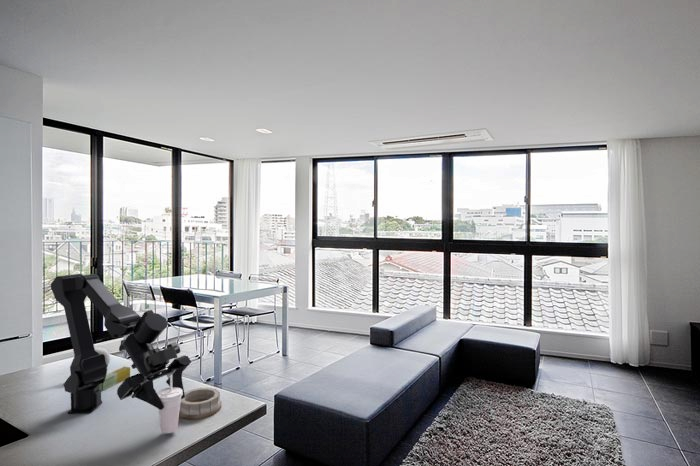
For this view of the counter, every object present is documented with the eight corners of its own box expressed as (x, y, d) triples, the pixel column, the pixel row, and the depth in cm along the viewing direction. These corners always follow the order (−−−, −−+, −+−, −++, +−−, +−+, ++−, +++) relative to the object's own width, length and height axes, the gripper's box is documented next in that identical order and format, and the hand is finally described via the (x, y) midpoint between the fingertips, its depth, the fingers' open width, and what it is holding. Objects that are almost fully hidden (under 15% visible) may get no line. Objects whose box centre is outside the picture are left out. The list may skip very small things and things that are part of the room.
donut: (79, 381, 134) (78, 352, 134) (75, 379, 136) (75, 350, 136) (111, 373, 142) (111, 345, 141) (108, 370, 144) (107, 343, 144)
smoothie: (188, 427, 103) (188, 374, 102) (165, 439, 97) (164, 382, 97) (173, 420, 106) (173, 368, 106) (150, 431, 101) (149, 376, 100)
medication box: (101, 392, 126) (101, 380, 126) (94, 391, 127) (94, 379, 127) (130, 378, 138) (130, 366, 138) (124, 377, 139) (124, 365, 139)
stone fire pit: (171, 420, 108) (170, 406, 108) (184, 400, 120) (184, 387, 120) (216, 418, 110) (216, 404, 110) (225, 398, 122) (224, 386, 122)
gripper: (124, 345, 94) (158, 400, 90) (186, 326, 111) (217, 372, 107) (102, 372, 97) (134, 427, 93) (165, 350, 114) (194, 395, 110)
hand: (173, 403), depth 101 cm, fingers closed on smoothie, 6 cm apart
